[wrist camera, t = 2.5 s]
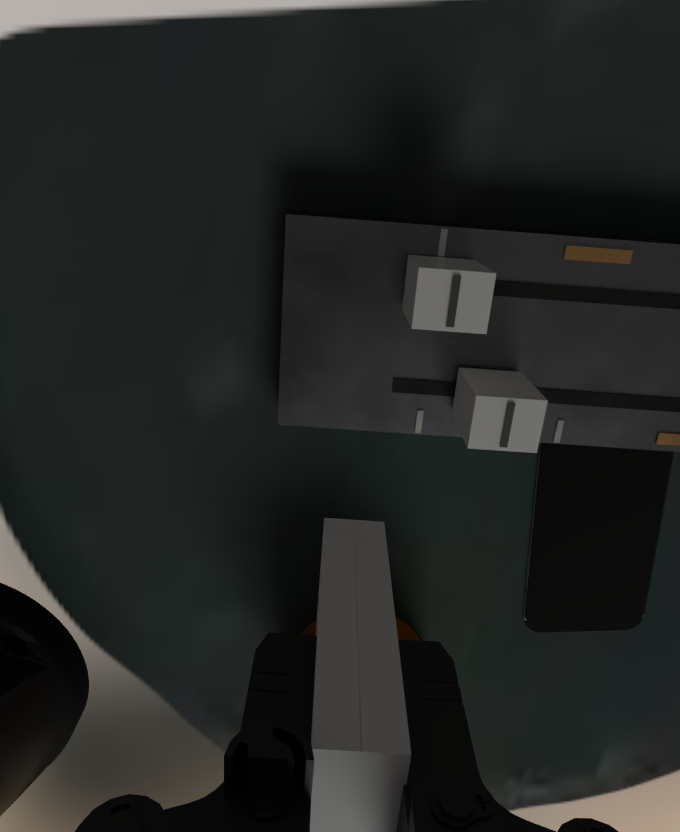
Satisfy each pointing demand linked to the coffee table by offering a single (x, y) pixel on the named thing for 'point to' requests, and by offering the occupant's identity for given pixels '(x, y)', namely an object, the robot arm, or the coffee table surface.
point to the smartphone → (593, 536)
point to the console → (497, 350)
